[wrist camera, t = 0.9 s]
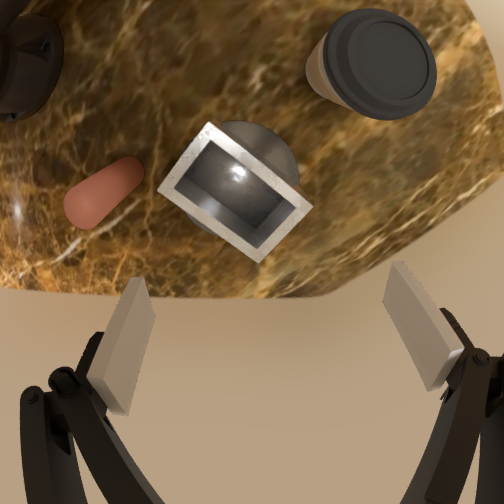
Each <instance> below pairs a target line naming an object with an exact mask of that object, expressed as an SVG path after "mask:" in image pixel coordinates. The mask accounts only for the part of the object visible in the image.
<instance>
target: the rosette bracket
mask: <svg viewBox="0 0 504 504" xmlns="http://www.w3.org/2000/svg"><path fill="white" fill-rule="evenodd" d="M157 191H158V192H160V193H161V194H162V195H164V196H165V197H167V198H168V199H169V200H171V201H172V202H173V203H175V204H176V205H178V206H179V207H180V208H182V209H183V210H184V212H185V213H186V214H187V216H188V217H189V218H190V219H191V220H192V221H193V222H194V223H195V224H196V225H197V226H199V227H200V228H201V229H203V230H205V231H206V232H208V233H210V234H212V235H215V236H218V237H222V238H224V239H225V240H226V241H228V242H229V243H230V244H232V245H233V246H235V247H236V248H237V249H239V250H240V251H242V252H243V253H244V254H246V255H247V256H249V257H250V258H251V259H253V260H254V261H256V262H257V263H259V262H260V261H261V260H262V259H263V258H264V257H265V256H266V255H267V254H268V253H269V252H270V251H271V250H272V249H273V248H274V247H275V246H276V245H277V244H278V243H279V242H280V241H281V240H282V239H283V238H284V237H285V236H286V235H287V234H288V233H289V232H290V230H291V229H292V228H293V227H294V226H295V225H296V224H297V223H298V222H299V221H300V220H301V219H302V218H303V217H304V216H305V215H306V214H307V213H308V212H309V211H310V210H311V209H312V208H313V205H312V203H311V201H310V200H309V198H308V196H307V195H306V193H305V191H304V190H302V189H301V188H300V187H299V171H298V167H297V163H296V160H295V158H294V156H293V154H292V152H291V150H290V149H289V147H288V146H287V145H286V143H285V142H284V141H283V140H282V139H281V138H280V137H279V136H278V135H277V134H275V133H274V132H273V131H271V130H270V129H268V128H266V127H264V126H262V125H259V124H256V123H253V122H248V121H227V122H222V123H220V122H218V121H217V120H216V119H212V120H210V121H209V122H208V123H207V124H206V125H205V126H204V128H203V129H202V130H201V131H200V133H199V134H198V135H197V136H196V137H194V138H193V139H192V140H191V141H190V142H189V144H188V145H187V146H186V148H185V149H184V151H183V152H182V154H181V156H180V158H179V160H178V162H177V163H176V164H175V166H174V167H173V169H172V170H171V171H170V173H169V174H168V175H167V177H166V178H165V180H164V181H163V183H162V184H161V185H160V187H159V188H158V190H157Z"/></svg>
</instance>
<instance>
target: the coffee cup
mask: <svg viewBox="0 0 504 504" xmlns="http://www.w3.org/2000/svg"><path fill="white" fill-rule="evenodd" d="M305 72H306V77H307V80H308V82H309V84H310V86H311V87H312V89H313V90H314V91H315V92H316V93H318V94H319V95H320V96H322V97H324V98H326V99H329V100H331V101H332V102H334V103H337V104H339V105H342V106H344V107H346V108H349V109H351V110H353V111H356V112H358V113H360V114H362V115H364V116H367V117H369V118H373V119H377V120H388V121H389V120H397V119H401V118H404V117H406V116H409V115H412V114H414V113H416V112H418V111H419V110H420V109H422V108H423V107H424V106H425V105H426V104H427V103H428V101H429V100H430V98H431V97H432V95H433V92H434V89H435V86H436V80H437V69H436V63H435V59H434V56H433V53H432V51H431V48H430V46H429V45H428V43H427V41H426V40H425V38H424V37H423V36H422V34H421V33H420V32H419V31H418V30H417V29H416V28H415V27H414V26H413V25H412V24H411V23H409V22H408V21H407V20H405V19H404V18H402V17H400V16H398V15H396V14H394V13H391V12H389V11H385V10H381V9H357V10H353V11H350V12H348V13H346V14H344V15H342V16H341V17H340V18H338V19H337V20H336V21H335V22H334V23H333V24H332V26H331V27H330V29H329V30H328V32H327V33H326V34H325V35H324V37H323V38H322V39H321V40H320V42H319V43H318V44H317V45H316V47H315V48H314V49H313V51H312V53H311V55H310V56H309V58H308V60H307V62H306V67H305Z"/></svg>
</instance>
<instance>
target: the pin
mask: <svg viewBox="0 0 504 504" xmlns="http://www.w3.org/2000/svg"><path fill="white" fill-rule="evenodd" d="M143 178H144V167H143V165H142V163H141V162H140V161H139V160H138V159H137V158H135V157H132V156H125V157H122V158H121V159H119V160H117V161H115V162H114V163H112V164H110V165H108V166H107V167H105V168H103V169H102V170H100V171H98V172H97V173H95V174H93V175H92V176H90V177H88V178H87V179H85V180H84V181H82V182H80V183H79V184H77V185H76V186H74V187H73V188H71V189H70V190H69V191H68V192H67V194H66V196H65V199H64V210H65V213H66V216H67V218H68V219H69V221H70V222H71V223H72V224H73V225H75V226H76V227H78V228H81V229H91V228H93V227H95V226H96V225H97V224H98V223H99V222H100V221H101V220H102V219H103V218H104V217H105V216H106V215H107V214H108V213H109V212H110V211H111V210H112V209H113V208H114V207H115V206H116V205H118V204H119V203H120V202H121V201H122V200H123V199H124V198H125V197H126V196H127V195H128V194H129V193H130V192H131V191H133V190H134V189H135V188H136V187H137V186H138V185H139V184H140V183H141V182H142V180H143Z"/></svg>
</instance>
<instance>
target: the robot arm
mask: <svg viewBox="0 0 504 504" xmlns="http://www.w3.org/2000/svg"><path fill="white" fill-rule="evenodd" d="M29 2H30V0H0V122H1V123H10V122H15V121H19V120H22V119H25V118H27V117H29V116H31V115H32V114H34V113H35V112H36V111H37V110H39V108H40V107H41V106H42V105H43V104H44V103H45V102H46V100H47V99H48V97H49V96H50V94H51V92H52V91H53V89H54V87H55V84H56V82H57V80H58V77H59V74H60V70H61V66H62V61H63V40H62V36H61V33H60V30H59V28H58V27H57V25H56V24H55V23H54V22H53V21H52V20H50V19H48V18H46V17H42V16H38V15H23V16H19V17H17V16H18V15H19V14H20V13H21V11H22V10H23V9H24V8H25V6H26V5H27V4H28V3H29ZM383 304H384V306H385V308H386V309H387V311H388V313H389V315H390V316H391V319H392V320H393V322H394V324H395V326H396V328H397V330H398V332H399V334H400V336H401V338H402V339H403V341H404V343H405V345H406V347H407V349H408V351H409V353H410V355H411V357H412V359H413V362H414V364H415V366H416V368H417V370H418V372H419V374H420V376H421V378H422V380H423V382H424V385H425V387H426V389H427V391H432V390H435V389H439V388H441V387H442V385H443V384H444V382H445V380H446V381H447V383H448V385H449V386H448V387H447V389H446V390H445V392H444V393H443V395H442V396H441V398H440V400H442V399H443V397H444V399H443V402H442V405H441V408H440V411H439V414H438V417H437V420H436V423H435V426H434V429H433V431H432V434H431V437H430V439H429V442H428V445H427V447H426V449H425V452H424V454H423V457H422V459H421V461H420V464H419V466H418V468H417V470H416V473H415V475H414V477H413V479H412V481H411V483H410V485H409V487H408V489H407V491H406V493H405V495H404V497H403V499H402V500H401V502H400V504H457V503H458V500H459V497H460V495H461V492H462V490H463V487H464V484H465V481H466V478H467V476H468V473H469V470H470V466H471V463H472V460H473V457H474V453H475V449H476V446H477V442H478V438H479V434H480V458H479V472H478V473H479V474H478V482H477V491H476V499H475V504H504V353H503V355H502V357H490V356H489V354H488V353H487V352H486V351H484V350H483V349H480V348H475V347H474V346H473V344H472V342H471V341H470V339H469V338H468V337H467V335H466V333H465V332H464V330H463V329H462V328H461V326H460V325H459V323H458V322H457V320H456V319H455V317H454V316H453V315H452V313H450V312H449V311H448V310H446V309H445V308H438V307H437V305H436V304H435V303H434V301H433V300H432V298H431V297H430V296H429V294H428V293H427V291H426V290H425V289H424V287H423V286H422V285H421V283H420V282H419V281H418V279H417V278H416V277H415V275H414V274H413V273H412V271H411V270H410V269H409V267H408V266H407V265H406V264H405V262H404V261H400V262H392V264H391V268H390V273H389V278H388V282H387V286H386V290H385V294H384V298H383ZM155 317H156V316H155V314H154V310H153V307H152V304H151V300H150V297H149V293H148V290H147V287H146V283H145V280H144V277H131V278H130V280H129V282H128V284H127V286H126V288H125V290H124V292H123V294H122V296H121V298H120V300H119V302H118V304H117V306H116V309H115V311H114V313H113V315H112V317H111V319H110V322H109V324H108V326H107V328H106V331H105V332H96V333H95V334H94V335H93V336H92V337H91V338H90V339H89V342H88V344H87V346H86V349H85V350H84V352H83V356H82V357H81V359H80V361H79V364H78V366H77V369H76V371H75V372H74V370H73V369H72V368H70V367H60V368H57V369H56V370H55V371H53V372H52V374H51V375H50V377H49V380H48V384H49V387H50V388H51V389H52V391H51V392H43V391H42V390H41V388H40V387H38V386H30V387H28V388H27V389H25V390H24V391H23V393H22V395H21V398H20V440H21V456H22V467H23V476H24V484H25V491H26V497H27V503H28V504H88V503H87V499H86V496H85V492H84V488H83V484H82V480H81V476H80V471H79V467H78V462H77V457H76V452H75V447H74V441H73V437H74V439H75V441H76V443H77V445H78V448H79V450H80V452H81V454H82V456H83V458H84V460H85V462H86V464H87V466H88V468H89V470H90V472H91V474H92V476H93V478H94V479H95V481H96V483H97V485H98V487H99V488H100V490H101V492H102V494H103V495H104V497H105V499H106V500H107V502H108V504H165V503H164V502H163V501H162V499H161V498H160V497H159V495H158V494H157V493H156V491H155V490H154V489H153V487H152V486H151V485H150V483H149V482H148V481H147V479H146V478H145V476H144V475H143V474H142V472H141V471H140V469H139V468H138V466H137V465H136V463H135V462H134V460H133V459H132V457H131V456H130V454H129V453H128V451H127V449H126V448H125V446H124V445H123V443H122V441H121V440H120V438H119V436H118V435H117V433H116V431H115V430H114V428H113V426H112V424H111V423H110V421H109V419H108V417H107V416H106V411H107V408H108V409H109V410H110V412H111V413H112V414H114V415H121V416H128V414H129V410H130V406H131V402H132V398H133V394H134V390H135V387H136V383H137V379H138V375H139V372H140V368H141V364H142V361H143V357H144V354H145V350H146V347H147V343H148V340H149V337H150V333H151V330H152V327H153V323H154V320H155ZM72 434H73V435H72Z"/></svg>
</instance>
